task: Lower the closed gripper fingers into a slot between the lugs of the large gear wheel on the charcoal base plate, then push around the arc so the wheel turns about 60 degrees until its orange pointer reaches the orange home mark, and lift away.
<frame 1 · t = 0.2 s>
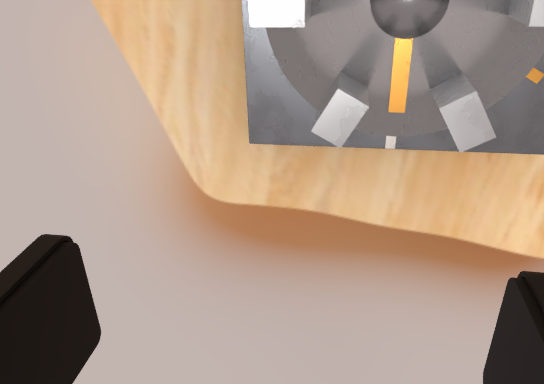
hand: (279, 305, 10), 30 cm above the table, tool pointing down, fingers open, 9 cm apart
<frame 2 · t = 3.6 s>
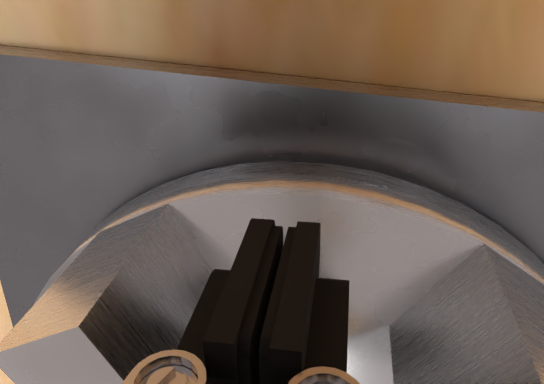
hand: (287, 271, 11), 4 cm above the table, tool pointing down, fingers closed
base plate: (304, 372, 19), on the table
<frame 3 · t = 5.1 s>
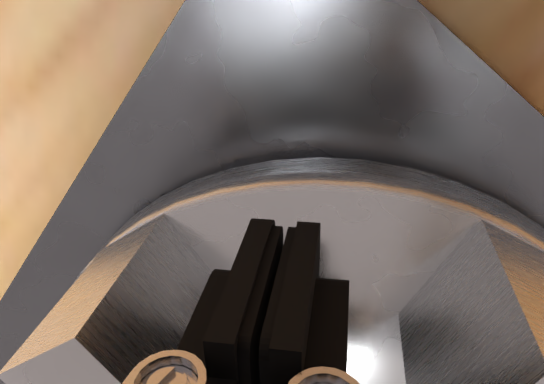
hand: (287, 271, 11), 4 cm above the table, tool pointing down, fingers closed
base plate: (327, 372, 19), on the table
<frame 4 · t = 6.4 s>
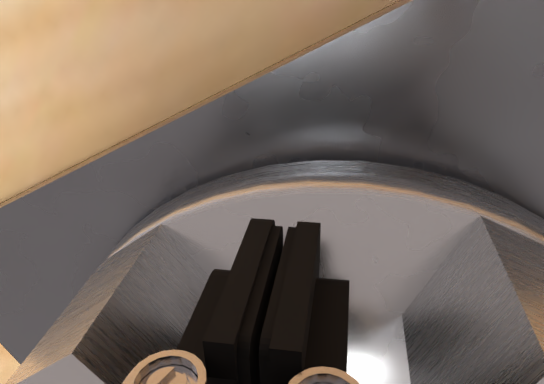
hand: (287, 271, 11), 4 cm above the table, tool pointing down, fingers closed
base plate: (337, 376, 19), on the table
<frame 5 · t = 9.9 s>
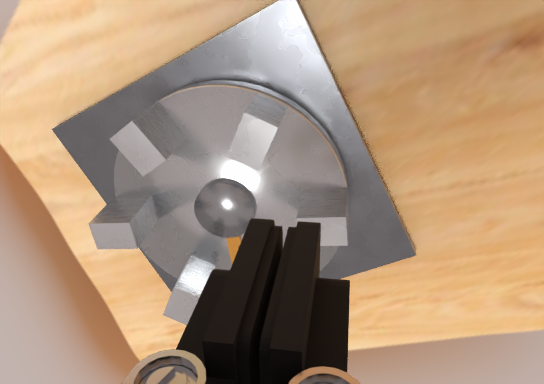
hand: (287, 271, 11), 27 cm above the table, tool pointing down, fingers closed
base plate: (236, 186, 42), on the table
gear wheel: (223, 212, 38), point 5 cm above the table, hinge at 69.1°
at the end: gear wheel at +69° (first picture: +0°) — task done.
